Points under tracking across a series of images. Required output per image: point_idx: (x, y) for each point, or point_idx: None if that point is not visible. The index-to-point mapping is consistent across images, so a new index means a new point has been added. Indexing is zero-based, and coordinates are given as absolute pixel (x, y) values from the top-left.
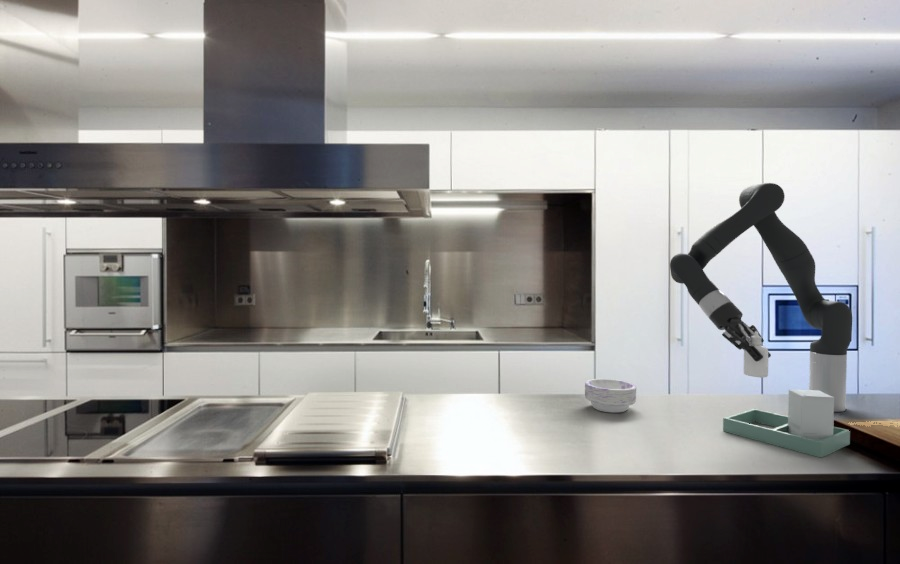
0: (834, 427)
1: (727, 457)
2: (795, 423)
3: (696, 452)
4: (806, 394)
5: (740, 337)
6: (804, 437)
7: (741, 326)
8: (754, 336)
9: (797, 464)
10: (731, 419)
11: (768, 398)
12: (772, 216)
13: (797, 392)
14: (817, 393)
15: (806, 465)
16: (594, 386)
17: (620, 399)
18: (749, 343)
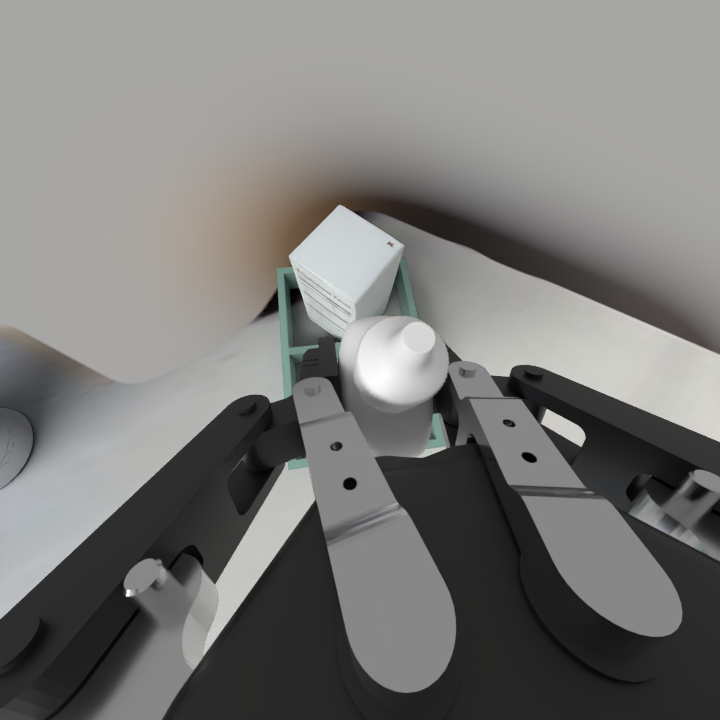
0: (284, 289)
1: (545, 341)
2: (378, 308)
3: (582, 381)
4: (378, 245)
5: (589, 408)
6: (404, 284)
7: (579, 532)
8: (439, 352)
9: (462, 275)
10: (437, 427)
11: None
12: None
13: (375, 269)
14: (339, 237)
15: (453, 268)
16: None
17: None
18: (483, 370)
